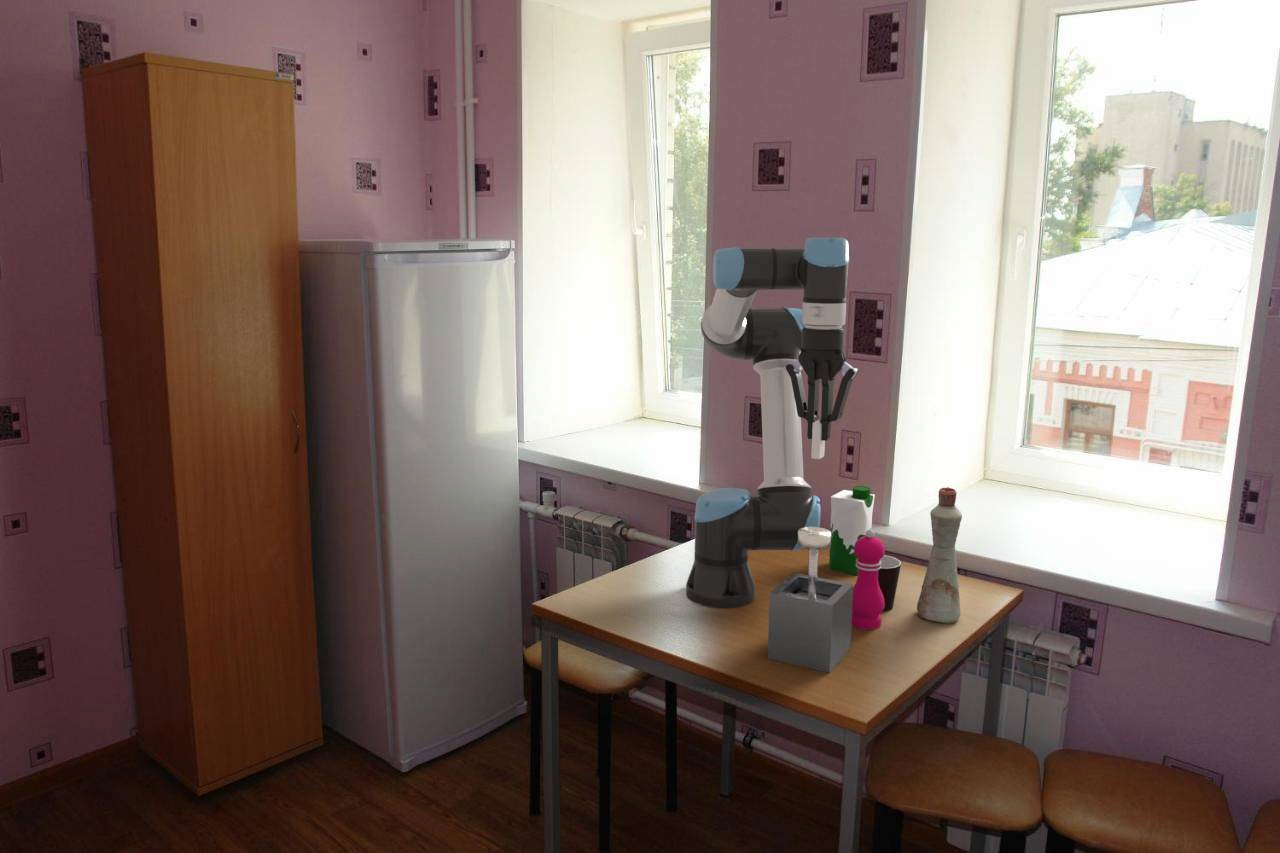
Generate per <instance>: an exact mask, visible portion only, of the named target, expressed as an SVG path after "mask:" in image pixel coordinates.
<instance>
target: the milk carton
mask: <svg viewBox="0 0 1280 853" xmlns="http://www.w3.org/2000/svg"><path fill="white" fill-rule="evenodd" d="M871 490H872V489H871V487H868V486H864V485H859V486H858V485H856V486H854V487H852V490H848V489H847V490H846V489H843V490H841V491H839V492H837V493H835V494H833V495H831V496H830V506H831V507H830V508H831V509H830V510H831V512H830V531H831V546H830V548H829V561H828V563H829V565H828V566H829V567H828V569H829V570H831V571H836V572H840V573H845V574H848V575H854V576H858V568H857V567H856V559H857V556H856V555H855V553H854V545H855V543H856V541H857V540H858V539H859V538H861V537H864V536H866V531H867V530H869V529H871V530H872V523H873V510H874V505H875V504H874V503H875V497H876V494H871Z"/></svg>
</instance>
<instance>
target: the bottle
mask: <svg viewBox="0 0 1280 853" xmlns="http://www.w3.org/2000/svg"><path fill="white" fill-rule="evenodd" d="M956 499H957V491H956V489H954V488H952V487H949V486H947V487H942V488H940V489H939V490H938V504H937V505H936V506H935V507H934V508H932V509H931V510H930V512H929V514H930V521H931V522H930V523H931V534H932V547H931V551H930V556H929V559H928V562H927V566H926V572H925V574H924V575H925V576H924V579H923V582H922V583H923V584H922V585H921V591H920V594H919V597H918V600H917V605H916V611H917V615H918V616H919V617H920V618H922V619H924V620H929V621H932V622H937V623H941V624H949V625H951V624H952V623H954V622H955V623H956V622H957V621H958V620H959V619H960V617H961V615H962V614H961V613H962V612H961V601H960V600H961V599H960V589H959V588H960V585H959V583H960V582H959V579H958V567H957V566H958V565H957V554H956V553H957V552H956V541H957V538H958V535H959V530H960V526H961V522H962V518H963V513H962V512H961V511H960V509H959V507H957V506H956V501H957V500H956Z"/></svg>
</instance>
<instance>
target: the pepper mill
mask: <svg viewBox="0 0 1280 853" xmlns="http://www.w3.org/2000/svg"><path fill="white" fill-rule="evenodd" d="M885 551H886V550H885V545H884V543H883V541H882V540H881V539H880V538H878V537H875V531H874V530H873V529H872V528H871V529H869V530H867V531H866V536H864V537H861V538H859V539H858V540H857V541H856V543H855V545H854V553H855V555H856V556H857V559H856V567H857V568H858V575H857V577H856V581H855V583H854V585H853V604H852V623H851V627H854V628H857V629H860V630H868V631H869V630H876V629H879V628H881V626H882V616H881V613H883V612H882V611H883V610H884V607H885V602H884V597H883V594H882V592H881V589H880V587H879V583H878V572H879V569H881V561H880V559H881V558H882V557H883V556H884V555H885Z"/></svg>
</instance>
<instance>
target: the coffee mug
mask: <svg viewBox="0 0 1280 853" xmlns="http://www.w3.org/2000/svg"><path fill="white" fill-rule="evenodd" d="M880 561H881V569H879V572H878V583H879V587H880V589H881V592H882V594H883V597H884V602H885V607H884V610H883V611H882V612H881V613H884V612H889V611H892V610H893V609H894V603H895V598H896V593H897V588H898V582H899V579H900V574H901V573H900V572H901V566H902V562H901V560H899V559H898V558H896V557H894V556H889V555H885V554H884V556H883V557H882V558H881V559H880Z"/></svg>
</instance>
